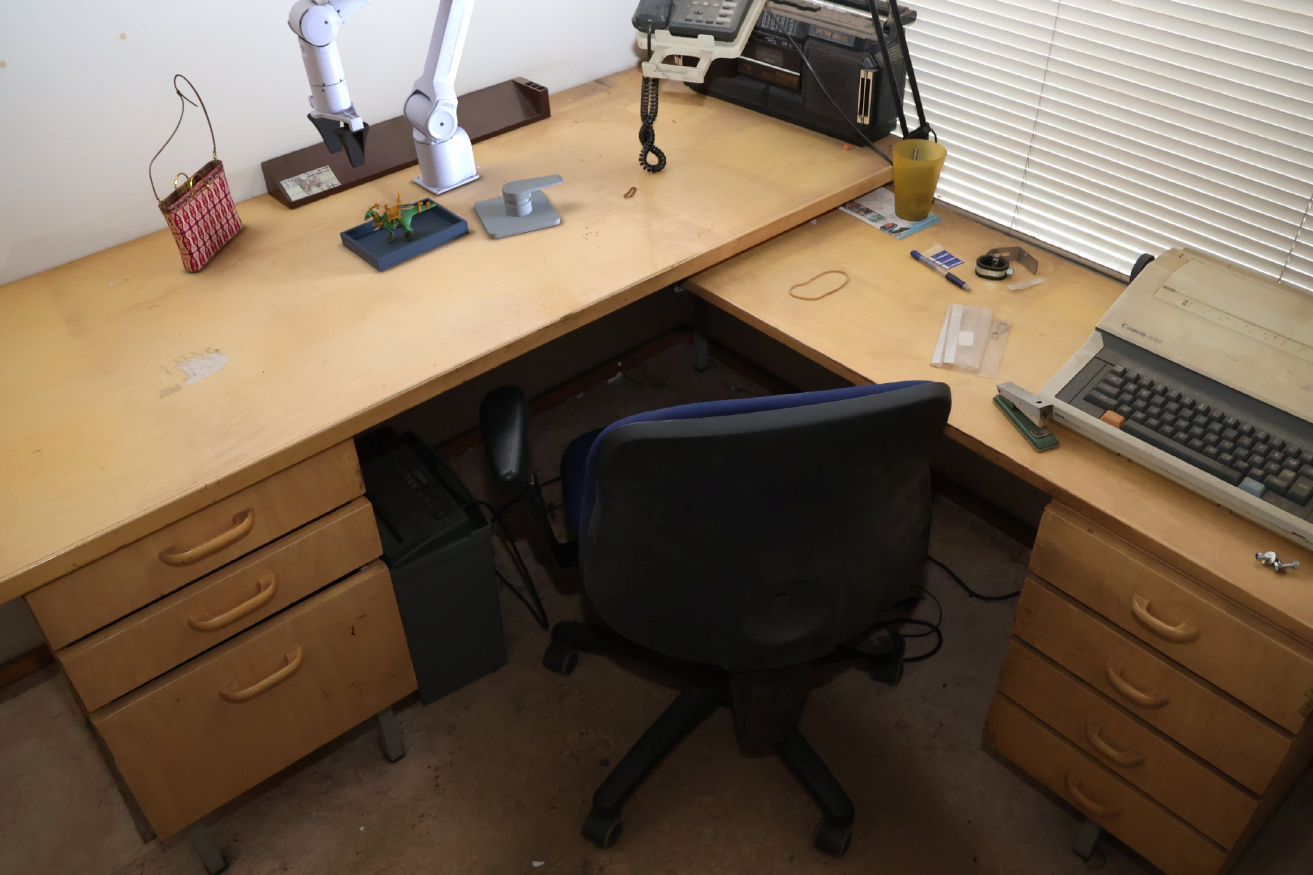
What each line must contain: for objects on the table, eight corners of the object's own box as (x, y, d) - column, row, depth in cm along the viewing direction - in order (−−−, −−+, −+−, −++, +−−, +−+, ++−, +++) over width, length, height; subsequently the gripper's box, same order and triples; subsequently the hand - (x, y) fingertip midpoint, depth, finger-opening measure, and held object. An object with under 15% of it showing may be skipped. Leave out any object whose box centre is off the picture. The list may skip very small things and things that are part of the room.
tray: (430, 209, 176) (427, 197, 175) (469, 233, 169) (467, 220, 168) (342, 245, 168) (339, 232, 166) (379, 271, 161) (376, 259, 159)
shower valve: (573, 191, 167) (485, 210, 163) (576, 220, 171) (490, 240, 167) (551, 161, 176) (467, 179, 172) (554, 190, 180) (473, 208, 176)
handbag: (261, 214, 177) (214, 73, 161) (198, 276, 162) (139, 127, 146) (223, 211, 179) (174, 72, 162) (157, 273, 163) (95, 125, 147)
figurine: (369, 239, 168) (357, 194, 163) (440, 225, 170) (431, 181, 165) (371, 248, 166) (359, 203, 160) (443, 234, 168) (434, 189, 163)
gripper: (283, 75, 165) (306, 153, 174) (326, 99, 156) (347, 179, 165) (322, 63, 168) (342, 140, 177) (366, 86, 160) (384, 165, 169)
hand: (347, 158), depth 171 cm, fingers open, 7 cm apart
